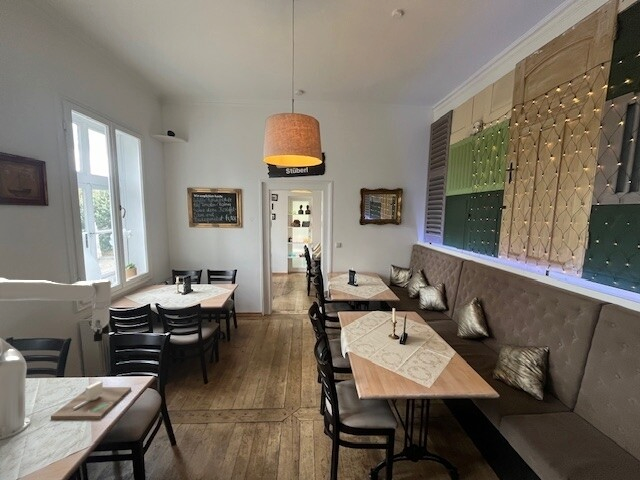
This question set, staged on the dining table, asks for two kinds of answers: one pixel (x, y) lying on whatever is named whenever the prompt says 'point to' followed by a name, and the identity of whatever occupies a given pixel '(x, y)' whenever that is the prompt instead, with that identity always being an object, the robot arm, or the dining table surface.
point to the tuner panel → (92, 404)
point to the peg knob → (92, 392)
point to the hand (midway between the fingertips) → (101, 337)
